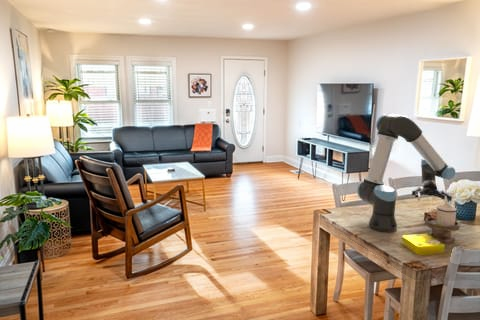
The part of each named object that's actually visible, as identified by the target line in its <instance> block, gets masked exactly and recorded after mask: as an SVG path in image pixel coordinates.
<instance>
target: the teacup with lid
mask: <svg viewBox="0 0 480 320" xmlns="http://www.w3.org/2000/svg"><path fill="white" fill-rule="evenodd" d="M452 206H453V205H452ZM452 206H451V205H450V204H449V203H448V202H447V203H445V202H444V203H443V204H441V205H438V206H437V207H436V209H432V210H430V211H429V212H430V213H429V214H430V215H429V216H430V217H432V218H434V219H436V223H437V224H438V225H440V226H450V227H452V226H455V220H456V217H457V211H458V210H457V207H456V208H455V207H452ZM433 212H436V216H437V218H436V217H433V216H434V215H433Z"/></svg>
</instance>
